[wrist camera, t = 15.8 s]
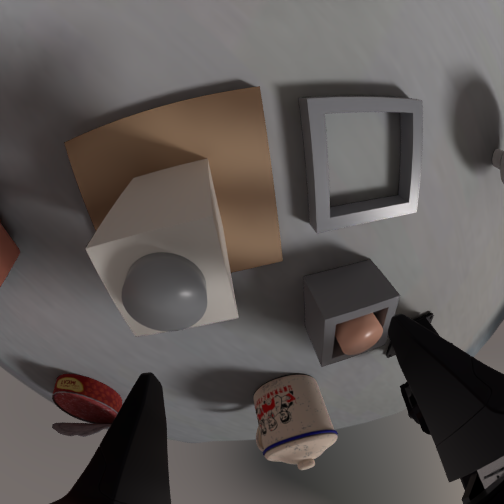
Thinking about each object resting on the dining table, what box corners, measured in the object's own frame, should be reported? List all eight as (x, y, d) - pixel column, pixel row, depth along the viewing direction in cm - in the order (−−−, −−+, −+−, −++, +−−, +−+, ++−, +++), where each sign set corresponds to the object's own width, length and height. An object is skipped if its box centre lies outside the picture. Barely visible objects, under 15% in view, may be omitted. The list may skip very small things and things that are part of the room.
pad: (279, 253, 21) (282, 261, 20) (129, 286, 20) (126, 294, 19) (256, 86, 14) (259, 86, 13) (70, 139, 13) (64, 142, 12)
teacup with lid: (280, 366, 29) (307, 458, 20) (330, 376, 33) (359, 450, 23) (226, 409, 34) (238, 484, 24) (275, 415, 37) (292, 479, 28)
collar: (405, 204, 20) (416, 212, 19) (309, 223, 20) (317, 233, 18) (409, 97, 15) (422, 100, 14) (298, 97, 15) (306, 98, 13)
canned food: (116, 357, 31) (146, 421, 26) (105, 393, 34) (131, 447, 29) (38, 360, 23) (57, 435, 17) (41, 397, 26) (61, 459, 20)
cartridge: (207, 158, 15) (213, 227, 8) (222, 226, 18) (241, 332, 10) (133, 178, 15) (77, 262, 7) (155, 242, 17) (133, 351, 10)
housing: (362, 309, 26) (384, 344, 22) (305, 326, 26) (321, 366, 22) (370, 259, 23) (400, 295, 19) (303, 276, 22) (325, 319, 18)
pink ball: (357, 311, 24) (378, 346, 21) (322, 322, 24) (340, 360, 21) (362, 282, 22) (386, 318, 19) (323, 293, 22) (344, 333, 18)
